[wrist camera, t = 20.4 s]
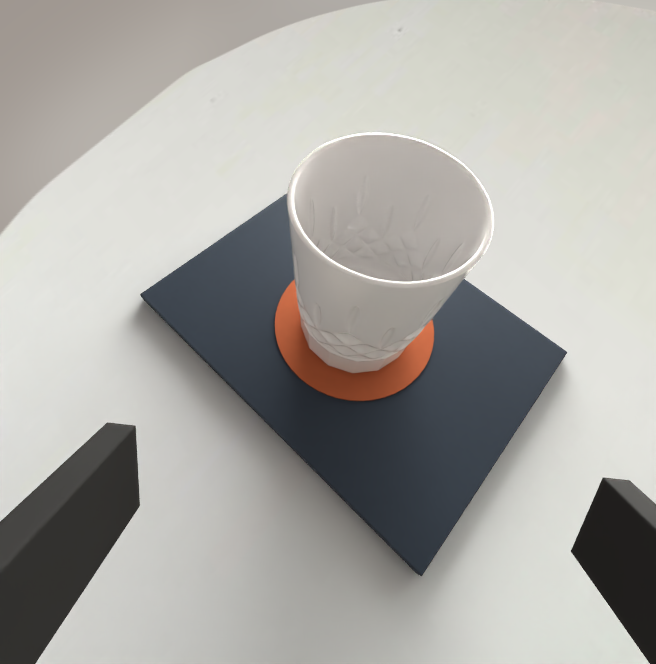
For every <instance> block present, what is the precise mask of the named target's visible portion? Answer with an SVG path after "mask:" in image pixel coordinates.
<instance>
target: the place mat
mask: <svg viewBox="0 0 656 664" xmlns="http://www.w3.org/2000/svg"><path fill="white" fill-rule="evenodd" d="M140 295H141V297H142V298H143V300H144V301H145V302H146V303H147V304H148V305H149V306H150V307H151V308H152V309H153V310H154V311H155V312H156V313H157V314H158V315H159V316H160V317H161V318H162V319H163V320H164V321H165V322H166V323H167V324H168V325H169V326H170V327H171V328H172V329H173V330H174V331H175V332H176V333H177V334H178V335H179V336H180V337H181V338H182V339H183V340H184V341H185V342H186V343H187V344H188V345H189V346H190V347H191V348H192V349H193V350H194V351H195V352H196V353H197V354H198V355H199V356H200V357H201V358H202V359H203V360H204V361H205V362H206V363H207V364H208V365H209V366H210V367H211V368H212V369H213V370H214V371H215V372H216V373H217V374H218V375H219V376H220V377H221V378H222V379H223V380H224V381H225V382H226V383H227V384H228V385H229V386H230V387H231V388H232V389H233V390H234V391H235V392H236V393H237V394H238V395H239V396H240V397H241V398H242V399H243V400H244V401H245V402H246V403H247V404H248V405H249V406H250V407H251V408H252V409H253V410H254V411H255V412H256V413H257V414H258V415H259V416H260V417H261V418H262V419H263V420H264V421H265V422H266V423H267V424H268V425H269V426H270V427H271V428H272V429H273V430H274V431H275V432H276V433H277V434H278V435H279V436H280V437H281V438H282V439H283V440H284V441H285V442H286V443H287V444H288V445H289V446H290V447H291V448H292V449H293V450H294V451H295V452H296V453H297V454H298V455H299V456H300V457H301V458H302V459H303V460H304V461H305V462H306V463H307V464H308V465H309V466H310V467H311V468H312V469H313V470H314V471H315V472H316V473H317V474H318V475H319V476H320V477H321V478H322V479H323V480H324V481H325V482H326V483H327V484H328V485H329V486H330V487H331V488H332V489H333V490H334V491H335V492H336V493H337V494H338V495H339V496H340V497H341V498H342V499H343V500H344V501H345V502H346V503H347V504H348V505H349V506H350V507H351V508H352V509H353V510H354V511H355V512H356V513H357V514H358V515H359V516H360V517H361V518H362V519H363V520H364V521H365V522H366V523H367V524H368V525H369V526H370V527H371V528H372V529H373V530H374V531H375V532H376V533H377V534H378V535H379V536H380V537H381V538H382V539H383V540H384V541H385V542H386V543H387V544H388V545H389V546H390V547H391V548H392V549H393V550H394V551H395V552H396V553H397V554H398V555H399V556H400V557H401V558H402V559H403V560H404V561H405V562H406V563H407V564H408V565H409V566H410V567H411V568H412V569H413V570H414V571H415V572H416V573H417V574H418V575H420V576H422V575H423V573H424V572H425V570H426V569H427V567H428V566H429V564H430V563H431V561H432V559H433V558H434V556H435V555H436V553H437V552H438V550H439V549H440V547H441V546H442V544H443V543H444V541H445V539H446V538H447V536H448V535H449V533H450V532H451V530H452V529H453V527H454V526H455V524H456V523H457V521H458V520H459V518H460V516H461V515H462V513H463V512H464V510H465V509H466V507H467V506H468V504H469V503H470V501H471V500H472V498H473V496H474V495H475V493H476V492H477V490H478V489H479V487H480V486H481V484H482V483H483V481H484V480H485V478H486V476H487V475H488V473H489V472H490V470H491V469H492V467H493V466H494V464H495V463H496V461H497V460H498V458H499V457H500V455H501V453H502V452H503V450H504V449H505V447H506V446H507V444H508V443H509V441H510V440H511V438H512V437H513V435H514V433H515V432H516V430H517V429H518V427H519V426H520V424H521V423H522V421H523V420H524V418H525V417H526V415H527V413H528V412H529V410H530V409H531V407H532V406H533V404H534V403H535V401H536V400H537V398H538V397H539V395H540V394H541V392H542V390H543V389H544V387H545V386H546V384H547V383H548V381H549V380H550V378H551V377H552V375H553V374H554V372H555V370H556V369H557V367H558V366H559V364H560V363H561V361H562V360H563V358H564V357H565V355H566V354H567V352H566V351H565V350H564V349H562V348H561V347H559V346H558V345H556V344H555V343H554V342H552V341H551V340H549V339H548V338H547V337H545V336H544V335H542V334H541V333H540V332H538V331H537V330H535V329H534V328H533V327H531V326H530V325H528V324H527V323H525V322H524V321H523V320H521V319H520V318H518V317H517V316H516V315H514V314H513V313H511V312H510V311H509V310H507V309H506V308H504V307H503V306H501V305H500V304H499V303H497V302H496V301H494V300H493V299H492V298H490V297H489V296H487V295H486V294H485V293H483V292H482V291H480V290H479V289H478V288H476V287H475V286H473V285H472V284H470V283H469V282H468V281H466V280H465V279H464V280H463V281H462V282H461V283H460V285H459V286H458V287H457V288H456V290H455V291H454V292H453V293H452V295H451V296H450V297H449V298H448V300H447V301H446V302H445V303H444V305H443V306H442V307H441V309H440V310H439V311H438V312H437V314H436V315H435V316H434V317H433V319H432V320H431V321H430V322H429V323H428V324H427V325H426V326H425V327H424V329H423V330H422V331H421V332H420V334H419V335H418V336H417V337H416V338H415V339H414V340H413V341H412V342H411V343H410V344H409V345H408V346H407V347H406V348H405V349H404V351H403V352H402V354H401V355H400V356H399V357H398V358H397V359H396V360H394V361H392V362H391V363H389V364H388V365H386V366H384V367H383V368H381V369H380V370H378V371H370V372H360V373H350V372H347V371H344V370H341V369H338V368H335V367H332V366H329V365H327V364H326V363H325V362H324V361H323V360H322V359H321V358H319V357H318V356H317V355H316V354H315V353H314V352H313V351H312V350H311V349H310V348H309V346H308V343H307V341H306V338H305V335H304V333H303V330H302V327H301V319H300V312H299V307H298V302H297V294H296V286H295V279H294V269H293V258H292V248H291V237H290V227H289V217H288V207H287V194H285V195H284V196H283V197H281V198H280V199H278V200H277V201H275V202H274V203H272V204H271V205H269V206H268V207H267V208H265V209H264V210H262V211H261V212H259V213H258V214H256V215H255V216H253V217H252V218H251V219H249V220H248V221H246V222H245V223H243V224H242V225H240V226H239V227H237V228H236V229H235V230H233V231H232V232H230V233H229V234H227V235H226V236H224V237H223V238H221V239H220V240H219V241H217V242H216V243H214V244H213V245H211V246H210V247H208V248H207V249H205V250H204V251H203V252H201V253H200V254H198V255H197V256H195V257H194V258H192V259H191V260H189V261H188V262H187V263H185V264H184V265H182V266H181V267H179V268H178V269H176V270H175V271H173V272H172V273H171V274H169V275H168V276H166V277H165V278H163V279H162V280H160V281H159V282H158V283H156V284H155V285H153V286H152V287H150V288H149V289H147V290H146V291H144V292H143V293H142V294H140Z"/></svg>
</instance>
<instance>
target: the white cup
mask: <svg viewBox="0 0 656 664" xmlns="http://www.w3.org/2000/svg"><path fill="white" fill-rule="evenodd" d="M287 207H288V217H289V227H290V237H291V248H292V258H293V269H294V279H295V286H296V294H297V302H298V307H299V312H300V319H301V327H302V330H303V333H304V335H305V338H306V341H307V343H308V346H309V348H310V349H311V350H312V351H313V352H314V353H315V354H316V355H317V356H318V357H319V358H321V359H322V360H323V361H324V362H325V363H326V364H327V365H329V366H332V367H335V368H338V369H341V370H344V371H347V372H350V373H360V372H370V371H378V370H380V369H381V368H383V367H384V366H386V365H388V364H389V363H391V362H392V361H394V360H396V359H397V358H398V357H399V356H400V355H401V354H402V352H403V351H404V349H405V348H406V347H407V346H408V345H409V344H410V343H411V342H412V341H413V340H414V339H415V338H416V337H417V336H418V335H419V334H420V332H421V331H422V330H423V329H424V327H425V326H426V325H427V324H428V323H429V322H430V321H431V320H432V319H433V317H434V316H435V315H436V314H437V312H438V311H439V310H440V309H441V307H442V306H443V305H444V303H445V302H446V301H447V300H448V298H449V297H450V296H451V295H452V293H453V292H454V291H455V290H456V288H457V287H458V286H459V285H460V283H461V282H462V281H463V280H464V278H465V277H466V276H467V275H468V273H469V272H470V271H471V270H472V268H473V267H474V266H475V265H476V263H477V262H478V261H479V260H480V259H481V257H482V256H483V255H484V253H485V252H486V250H487V248H488V246H489V244H490V241H491V238H492V235H493V229H494V215H493V209H492V205H491V202H490V199H489V197H488V195H487V193H486V191H485V189H484V187H483V186H482V184H481V183H480V181H479V180H478V179H477V178H476V176H475V175H474V174H473V173H472V172H471V171H470V170H469V169H468V168H467V167H466V166H465V165H464V164H462V163H461V162H460V161H459V160H457V159H456V158H454V157H453V156H451V155H450V154H448V153H447V152H445V151H443V150H441V149H439V148H437V147H435V146H433V145H431V144H428V143H426V142H423V141H420V140H417V139H414V138H410V137H406V136H401V135H394V134H385V133H366V134H356V135H351V136H346V137H342V138H339V139H336V140H333V141H331V142H328V143H326V144H324V145H322V146H320V147H319V148H317V149H316V150H314V151H313V152H311V153H310V154H309V155H308V156H307V157H306V158H305V159H304V160H303V161H302V162H301V163H300V164H299V165H298V167H297V168H296V170H295V171H294V173H293V175H292V177H291V180H290V183H289V187H288V192H287Z"/></svg>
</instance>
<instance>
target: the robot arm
mask: <svg viewBox="0 0 656 664" xmlns="http://www.w3.org/2000/svg"><path fill="white" fill-rule="evenodd" d="M139 506H140V500H139V482H138V463H137V445H136V426H133V425H124V424H115V423H106V424H105V425H104V426H103V427H102V428H101V429H100V430H99V431H98V432H97V433H96V434H94V435H93V436H92V437H91V438H90V439H89V440H88V441H87V442H86V443H85V444H84V445H83V446H81V447H80V448H79V449H78V450H77V451H76V452H75V453H74V454H73V455H72V456H71V457H70V458H69V459H67V460H66V461H65V462H64V463H63V464H62V465H61V466H60V467H59V468H58V469H57V470H56V471H54V472H53V473H52V474H51V475H50V476H49V477H48V478H47V479H46V480H45V481H44V482H43V483H42V484H40V485H39V486H38V487H37V488H36V489H35V490H34V491H33V492H32V493H31V494H30V495H29V496H27V497H26V498H25V499H24V500H23V501H22V502H21V503H20V504H19V505H18V506H17V507H16V508H15V509H13V510H12V511H11V512H10V513H9V514H8V515H7V516H6V517H5V518H4V519H3V520H2V521H0V664H35V663H36V662H37V660H38V659H39V657H40V656H41V654H42V653H43V651H44V650H45V648H46V647H47V645H48V644H49V642H50V641H51V639H52V638H53V636H54V634H55V633H56V631H57V630H58V628H59V627H60V625H61V624H62V622H63V621H64V619H65V618H66V616H67V615H68V613H69V612H70V610H71V609H72V607H73V606H74V604H75V603H76V601H77V600H78V598H79V597H80V595H81V594H82V592H83V591H84V589H85V588H86V586H87V585H88V583H89V582H90V580H91V579H92V577H93V576H94V574H95V573H96V571H97V570H98V568H99V567H100V565H101V564H102V562H103V560H104V559H105V557H106V556H107V554H108V553H109V551H110V550H111V548H112V547H113V545H114V544H115V542H116V541H117V539H118V538H119V536H120V535H121V533H122V532H123V530H124V529H125V527H126V526H127V524H128V523H129V521H130V520H131V518H132V517H133V515H134V514H135V512H136V511H137V509H138V508H139ZM571 552H572V553H573V555H574V556H575V558H576V559H577V561H578V562H579V563H580V565H581V566H582V568H583V569H584V571H585V572H586V573H587V575H588V576H589V578H590V579H591V580H592V582H593V583H594V585H595V586H596V588H597V589H598V590H599V592H600V593H601V595H602V596H603V598H604V599H605V600H606V602H607V603H608V605H609V606H610V608H611V609H612V610H613V612H614V613H615V615H616V616H617V617H618V619H619V620H620V622H621V623H622V625H623V626H624V627H625V629H626V630H627V632H628V633H629V635H630V636H631V637H632V639H633V640H634V642H635V643H636V645H637V646H638V647H639V649H640V650H641V652H642V653H643V654H644V656H645V657H646V659H647V660H648V662H649V663H650V664H656V504H655V503H654V502H653V501H652V500H650V499H649V498H648V497H647V496H646V495H645V494H644V493H643V492H642V491H641V490H639V489H638V488H637V487H636V486H635V485H634V484H633V483H632V482H631V481H629V480H621V479H611V478H603V479H602V481H601V483H600V486H599V488H598V490H597V493H596V495H595V497H594V499H593V502H592V504H591V506H590V509H589V511H588V513H587V515H586V518H585V520H584V522H583V525H582V527H581V529H580V532H579V534H578V536H577V538H576V541H575V543H574V545H573V548H572V550H571Z"/></svg>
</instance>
